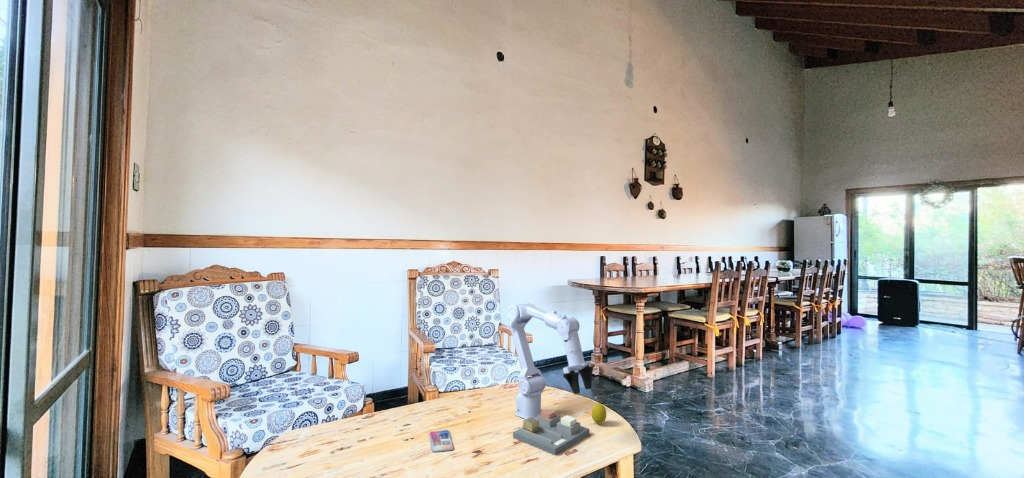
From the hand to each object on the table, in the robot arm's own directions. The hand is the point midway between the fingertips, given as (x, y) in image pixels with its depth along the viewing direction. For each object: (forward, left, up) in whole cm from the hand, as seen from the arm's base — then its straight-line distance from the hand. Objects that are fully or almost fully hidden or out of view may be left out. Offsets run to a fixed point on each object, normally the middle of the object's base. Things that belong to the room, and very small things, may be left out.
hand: (582, 391), depth 152 cm
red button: (-14, -1, -13) cm, 19 cm away
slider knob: (-14, -11, -14) cm, 23 cm away
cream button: (-5, -1, -13) cm, 14 cm away
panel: (-9, -5, -17) cm, 20 cm away
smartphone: (-34, -35, -17) cm, 52 cm away
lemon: (-2, +15, -17) cm, 23 cm away
